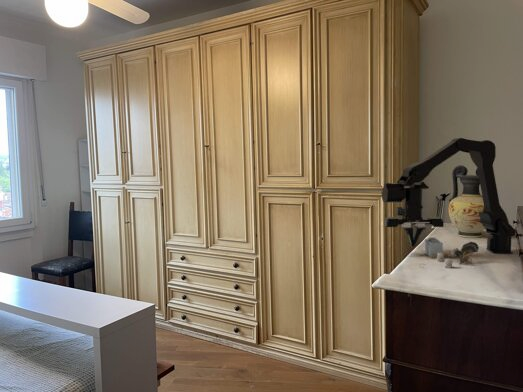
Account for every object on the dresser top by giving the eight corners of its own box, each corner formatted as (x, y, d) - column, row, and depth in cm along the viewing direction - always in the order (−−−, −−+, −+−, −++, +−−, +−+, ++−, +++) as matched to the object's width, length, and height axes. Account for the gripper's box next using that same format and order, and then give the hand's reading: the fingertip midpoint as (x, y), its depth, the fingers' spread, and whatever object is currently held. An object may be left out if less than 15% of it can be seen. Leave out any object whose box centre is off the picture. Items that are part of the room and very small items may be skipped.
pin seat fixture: (455, 253, 143) (455, 246, 143) (477, 268, 124) (477, 260, 124) (425, 253, 144) (425, 246, 144) (442, 268, 125) (442, 260, 125)
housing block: (436, 251, 145) (436, 237, 144) (442, 256, 138) (442, 241, 138) (424, 251, 145) (424, 237, 145) (430, 256, 139) (430, 240, 138)
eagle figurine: (480, 263, 125) (484, 252, 132) (465, 244, 126) (471, 234, 133) (457, 273, 130) (463, 261, 137) (444, 254, 131) (450, 244, 138)
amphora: (494, 234, 176) (496, 164, 173) (492, 241, 162) (494, 165, 159) (450, 231, 186) (451, 165, 183) (444, 237, 171) (445, 166, 169)
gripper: (434, 199, 148) (433, 241, 149) (381, 199, 150) (381, 241, 151) (444, 202, 137) (443, 248, 138) (387, 203, 139) (386, 248, 140)
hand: (412, 246), depth 142 cm, fingers closed
